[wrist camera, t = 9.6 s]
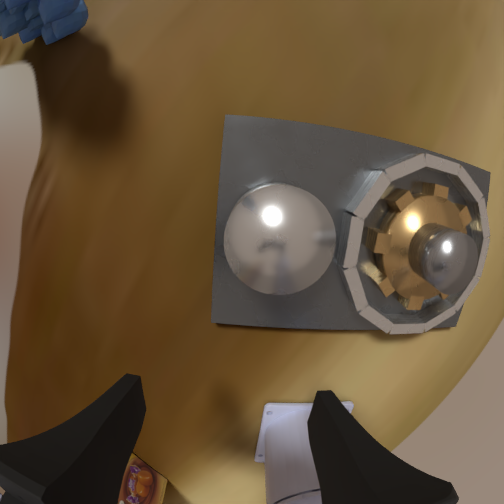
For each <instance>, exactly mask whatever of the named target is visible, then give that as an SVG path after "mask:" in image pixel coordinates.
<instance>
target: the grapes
mask: <svg viewBox="0 0 504 504" xmlns="http://www.w3.org/2000/svg"><path fill="white" fill-rule="evenodd" d="M87 18H88V9H87V6H86V4H85V2H84V1H83V0H0V36H2V37H3V39H5V38H7V37H10V36H12V35H14V34H16V33H19V36H20V39H21V41H22V43H23V44H24V43H26V42H29V41H31V40H33V39H35V38H37V37H39V36H41V35H42V37H43V40H44V42H45V43H46V45H48V44H51V43H54V42H56V41H58V40H60V39H62V38H64V37H66V36H67V35H69V34H72V33H74V32H76V31H78V30H80V29H81V28H82V27H83V26H84V25H85V24H86V21H87Z"/></svg>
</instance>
